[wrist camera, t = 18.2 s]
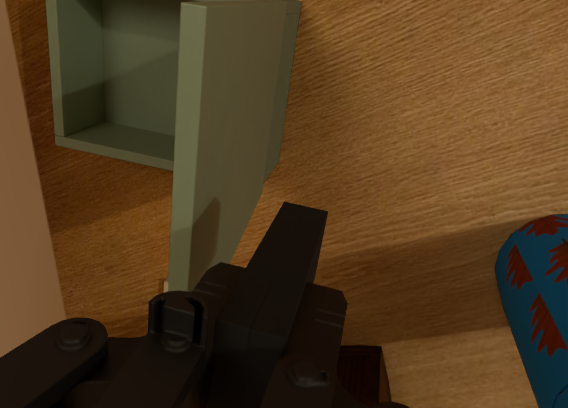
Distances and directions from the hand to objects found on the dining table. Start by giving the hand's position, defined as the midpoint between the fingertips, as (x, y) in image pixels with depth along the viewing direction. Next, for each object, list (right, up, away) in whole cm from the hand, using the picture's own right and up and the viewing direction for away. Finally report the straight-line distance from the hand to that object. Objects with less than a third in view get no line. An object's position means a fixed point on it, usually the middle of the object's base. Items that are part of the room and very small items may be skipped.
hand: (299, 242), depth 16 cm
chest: (-9, +13, +25) cm, 30 cm away
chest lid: (-3, +5, +9) cm, 11 cm away
